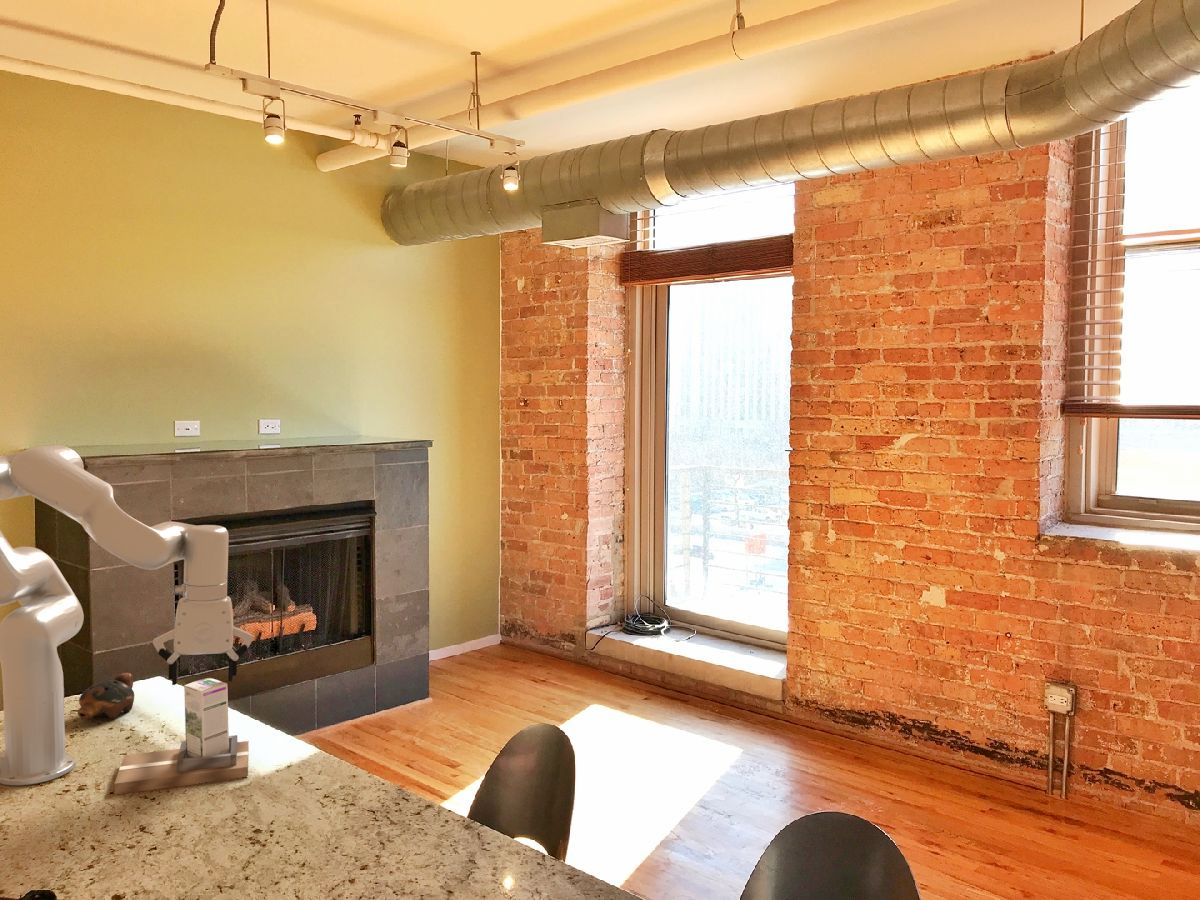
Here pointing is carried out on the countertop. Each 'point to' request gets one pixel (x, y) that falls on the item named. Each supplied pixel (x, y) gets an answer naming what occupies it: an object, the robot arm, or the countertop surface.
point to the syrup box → (206, 718)
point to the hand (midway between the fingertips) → (203, 681)
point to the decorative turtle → (107, 697)
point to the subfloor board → (180, 768)
